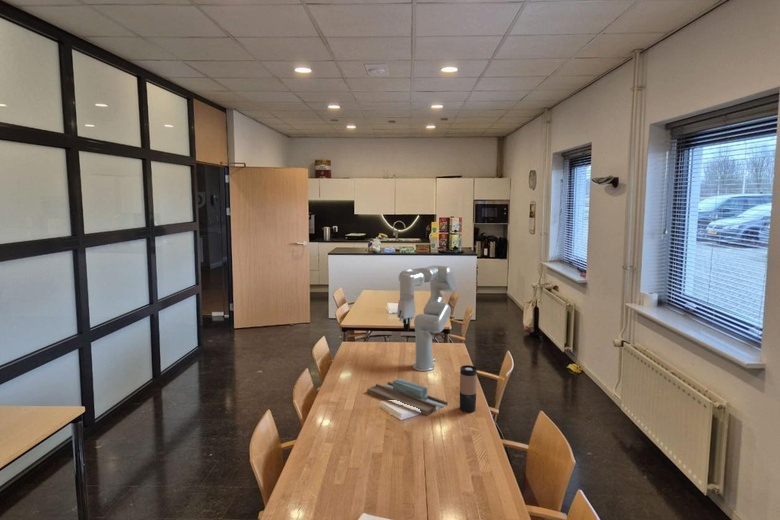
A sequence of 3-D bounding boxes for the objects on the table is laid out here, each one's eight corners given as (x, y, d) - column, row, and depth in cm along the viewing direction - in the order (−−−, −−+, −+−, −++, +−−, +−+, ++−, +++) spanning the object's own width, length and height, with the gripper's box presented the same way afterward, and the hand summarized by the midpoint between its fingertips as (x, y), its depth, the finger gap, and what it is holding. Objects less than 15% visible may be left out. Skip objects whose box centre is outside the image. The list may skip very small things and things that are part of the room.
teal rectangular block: (399, 389, 245) (399, 378, 244) (427, 399, 233) (427, 387, 232) (392, 392, 241) (392, 381, 240) (420, 402, 229) (421, 390, 228)
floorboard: (388, 383, 253) (388, 378, 253) (447, 404, 228) (447, 399, 227) (367, 392, 241) (367, 387, 241) (426, 415, 216) (426, 409, 216)
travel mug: (477, 407, 224) (478, 366, 222) (473, 414, 217) (474, 372, 215) (462, 404, 227) (462, 364, 225) (457, 411, 221) (458, 369, 218)
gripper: (410, 293, 263) (410, 326, 265) (392, 297, 252) (392, 331, 254) (421, 295, 258) (420, 328, 260) (403, 299, 247) (402, 334, 249)
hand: (406, 330), depth 257 cm, fingers closed
